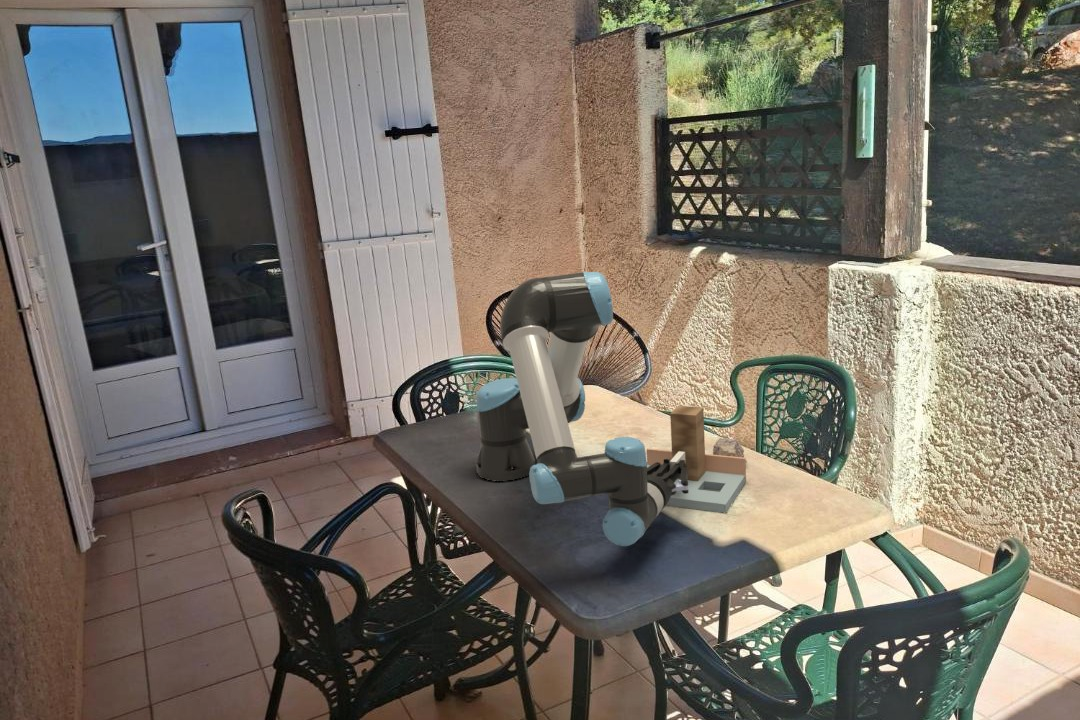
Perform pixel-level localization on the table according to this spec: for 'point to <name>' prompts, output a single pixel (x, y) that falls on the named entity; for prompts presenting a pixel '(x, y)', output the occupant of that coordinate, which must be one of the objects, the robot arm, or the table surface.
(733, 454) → the mineral specimen
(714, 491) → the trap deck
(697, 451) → the walnut block
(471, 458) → the table surface
